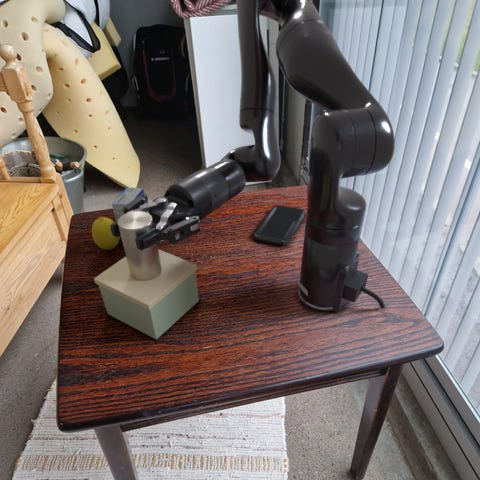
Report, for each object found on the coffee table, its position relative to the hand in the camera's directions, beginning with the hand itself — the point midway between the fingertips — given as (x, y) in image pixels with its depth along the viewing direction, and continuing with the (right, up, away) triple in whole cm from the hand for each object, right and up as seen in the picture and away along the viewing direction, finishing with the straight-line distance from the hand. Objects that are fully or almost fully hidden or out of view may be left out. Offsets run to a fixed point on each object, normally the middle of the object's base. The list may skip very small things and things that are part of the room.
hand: (125, 238), depth 66 cm
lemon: (-11, +3, +27) cm, 29 cm away
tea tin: (+2, -4, +7) cm, 8 cm away
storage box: (+2, -10, +13) cm, 17 cm away
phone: (+27, +9, +32) cm, 43 cm away
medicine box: (-6, +8, +33) cm, 34 cm away
